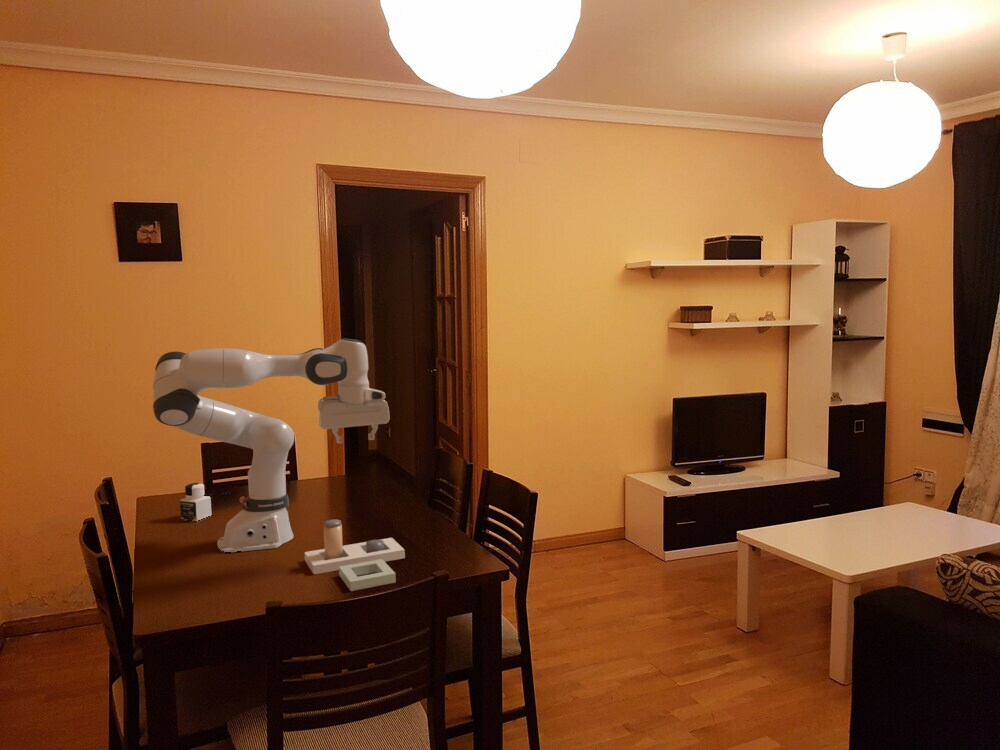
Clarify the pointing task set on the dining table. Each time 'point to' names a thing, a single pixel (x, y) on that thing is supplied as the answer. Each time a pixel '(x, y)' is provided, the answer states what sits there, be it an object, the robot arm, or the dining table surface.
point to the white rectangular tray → (355, 555)
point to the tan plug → (333, 539)
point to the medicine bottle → (195, 503)
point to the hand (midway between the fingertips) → (355, 441)
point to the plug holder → (379, 578)
